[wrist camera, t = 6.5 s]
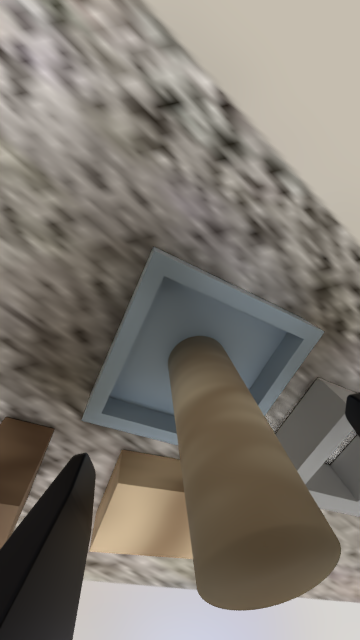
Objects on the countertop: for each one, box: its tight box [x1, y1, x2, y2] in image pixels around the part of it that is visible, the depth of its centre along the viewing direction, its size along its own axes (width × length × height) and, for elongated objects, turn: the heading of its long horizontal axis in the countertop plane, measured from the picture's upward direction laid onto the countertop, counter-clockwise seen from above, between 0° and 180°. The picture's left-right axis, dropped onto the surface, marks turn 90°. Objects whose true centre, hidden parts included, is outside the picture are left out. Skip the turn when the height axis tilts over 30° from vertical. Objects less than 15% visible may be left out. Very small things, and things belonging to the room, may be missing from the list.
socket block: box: [275, 378, 360, 517], centre depth 15 cm, size 7×7×2 cm
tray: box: [82, 246, 324, 445], centre depth 12 cm, size 8×8×2 cm
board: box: [89, 450, 193, 559], centre depth 16 cm, size 10×6×2 cm, turn 69°
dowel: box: [168, 336, 341, 610], centre depth 9 cm, size 3×3×8 cm
